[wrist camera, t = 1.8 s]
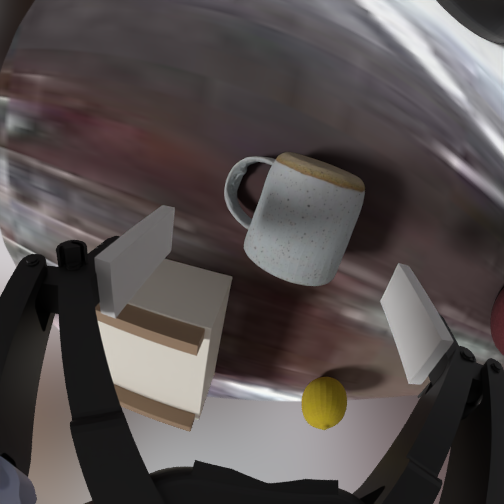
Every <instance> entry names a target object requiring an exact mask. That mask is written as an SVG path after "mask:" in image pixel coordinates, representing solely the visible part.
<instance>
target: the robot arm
mask: <svg viewBox="0 0 504 504" xmlns="http://www.w3.org/2000/svg"><path fill="white" fill-rule="evenodd" d="M437 1H438V2H439V4H440V5H441V6H442V7H443V8H444V9H445V10H446V11H448V12H449V13H450V14H451V15H452V16H453V17H454V18H455V19H457V20H458V21H459V22H460V23H461V24H463V25H464V26H465V27H467V28H468V29H470V30H471V31H473V32H474V33H476V34H477V35H479V36H481V37H483V38H485V39H487V40H489V41H492V42H496V43H500V44H504V0H437ZM174 213H175V208H174V207H169V206H164V205H162V206H161V207H159V208H158V209H157V210H155V211H154V212H153V213H151V214H150V215H148V216H147V217H146V218H144V219H143V220H142V221H140V222H139V223H138V224H136V225H135V226H134V227H132V228H131V229H130V230H128V231H127V232H126V233H125V234H123V235H122V236H121V237H119V236H114V237H111V238H108V239H107V240H105V241H104V242H103V243H101V245H99V246H97V247H96V248H95V249H94V250H92V251H91V252H90V253H88V254H87V245H86V244H85V243H84V242H82V241H79V240H69V241H65V242H63V243H61V244H59V245H58V246H57V248H56V253H57V260H58V266H59V267H55V266H47V264H46V259H45V257H44V256H42V255H40V254H31V255H28V256H26V257H24V258H23V259H22V260H21V261H20V262H19V264H18V266H17V267H16V269H15V271H14V272H13V275H12V276H11V278H10V279H9V281H8V283H7V285H6V287H5V289H4V291H3V292H2V294H1V296H0V504H35V503H36V500H37V497H36V494H35V489H34V486H33V484H32V482H31V481H30V479H29V478H28V474H29V468H30V462H31V450H32V433H33V423H34V413H35V405H36V398H37V391H38V385H39V379H40V374H41V369H42V364H43V359H44V354H45V350H46V346H47V341H48V338H49V334H50V330H51V326H52V323H53V319H54V316H55V313H56V314H59V328H60V341H61V351H62V360H63V368H64V376H65V383H66V389H67V394H68V400H69V405H70V410H71V415H72V421H71V422H70V429H71V434H72V438H73V442H74V446H75V449H76V453H77V456H78V460H79V463H80V466H81V469H82V472H83V476H84V478H85V481H86V484H87V487H88V490H89V492H90V495H91V497H92V501H90V502H87V503H85V504H433V503H434V501H435V499H436V497H437V495H438V493H439V491H440V489H441V486H442V480H440V479H439V478H437V477H438V474H439V472H440V470H441V468H442V466H443V463H444V461H445V459H446V457H447V454H448V452H449V449H450V447H451V450H450V456H449V462H448V467H447V473H446V477H445V481H444V486H443V490H442V494H441V498H440V502H439V504H504V370H503V367H502V366H501V364H500V363H499V362H498V361H496V360H495V359H492V358H490V359H488V360H487V361H486V362H485V364H484V365H481V364H478V363H476V358H475V356H474V355H473V353H472V352H471V351H470V350H469V349H467V348H465V347H462V346H459V345H458V343H457V341H456V340H455V338H454V336H453V334H452V332H450V329H449V327H448V326H447V323H446V322H445V320H444V318H443V317H442V316H441V315H440V314H439V313H438V312H437V310H436V308H435V307H434V305H433V303H432V302H431V300H430V298H429V297H428V295H427V294H426V292H425V290H424V289H423V287H422V286H421V284H420V282H419V281H418V279H417V278H416V276H415V275H414V273H413V272H412V270H411V269H410V267H409V266H407V265H403V264H400V263H398V265H397V267H396V269H395V272H394V274H393V276H392V278H391V280H390V282H389V284H388V287H387V289H386V291H385V293H384V295H383V297H382V299H381V301H380V302H381V304H382V307H383V310H384V312H385V315H386V318H387V320H388V323H389V326H390V328H391V331H392V334H393V337H394V340H395V343H396V345H397V348H398V351H399V354H400V357H401V360H402V364H403V367H404V370H405V373H406V376H407V380H408V383H409V384H422V383H423V381H424V380H425V379H426V378H427V377H428V375H429V378H430V381H431V382H430V383H429V384H428V385H427V386H426V388H425V389H424V390H423V391H422V392H421V393H420V394H419V395H418V398H419V397H421V398H420V399H419V401H418V403H417V405H416V407H415V408H414V410H413V412H412V414H411V415H410V417H409V419H408V420H407V422H406V424H405V425H404V427H403V428H402V430H401V432H400V433H399V435H398V436H397V438H396V439H395V441H394V442H393V444H392V445H391V447H390V448H389V450H388V451H387V453H386V454H385V456H384V457H383V458H382V460H381V461H380V462H379V464H378V465H377V466H376V468H375V469H374V470H373V472H372V473H371V474H370V476H369V477H368V478H367V479H366V481H365V482H364V483H363V485H361V487H360V488H359V489H358V490H356V491H355V492H354V493H353V494H351V493H349V492H347V491H345V490H342V489H339V488H338V480H312V479H303V480H296V481H289V482H280V483H265V482H263V481H260V480H257V479H255V478H252V477H250V476H247V475H245V474H242V473H240V472H238V471H235V470H233V469H230V468H225V467H221V466H217V465H212V464H208V463H204V462H200V461H197V460H195V462H194V466H193V467H173V468H166V469H162V470H158V471H155V472H153V473H150V474H149V473H148V471H147V469H146V466H145V464H144V462H143V460H142V458H141V456H140V453H139V451H138V448H137V446H136V444H135V441H134V439H133V437H132V434H131V432H130V429H129V426H128V423H127V421H126V418H125V416H124V413H123V411H122V408H121V405H120V402H119V399H118V396H117V393H116V390H115V387H114V383H113V380H112V377H111V373H110V370H109V366H108V362H107V359H106V355H105V351H104V347H103V343H102V338H101V334H100V330H99V325H98V320H97V315H96V310H95V307H96V306H97V305H98V304H100V310H101V313H102V314H104V315H107V316H110V317H112V318H115V319H116V317H117V316H118V315H119V314H120V312H121V311H122V310H123V309H124V307H125V306H126V305H127V304H128V302H129V301H130V300H131V299H132V297H133V296H134V295H135V294H136V292H137V291H138V290H139V289H140V287H141V286H142V285H143V284H144V283H145V281H146V280H147V279H148V278H149V277H150V275H151V274H152V273H153V272H154V271H155V269H156V268H157V267H158V266H159V265H160V264H161V262H162V261H163V260H164V259H165V258H166V256H167V255H168V254H169V253H170V252H171V247H172V234H173V223H174ZM479 403H480V404H479Z"/></svg>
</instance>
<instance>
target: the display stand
mask: <svg viewBox="0 0 504 504" xmlns="http://www.w3.org/2000/svg"><path fill="white" fill-rule="evenodd" d="M231 282H232V276H228V275H224V274H221V273H217V272H213V271H209V270H205V269H202V268H198V267H194V266H190V265H187V264H183V263H179V262H176V261H172V260H168V259H164V260H163V261H162V262H161V264H160V265H159V266H158V267H157V268H156V269H155V271H154V272H153V273H152V274H151V275H150V277H149V278H148V279H147V280H146V281H145V283H144V284H143V285H142V286H141V287H140V289H139V290H138V291H137V292H136V294H135V295H134V296H133V297H132V299H131V300H130V301H129V302H128V304H127V305H126V306H125V307H124V309H123V310H122V311H121V312H120V314H119V315H118V316H117V317H116V319H115V318H112V317H110V316H107V315H104V314H102V313H101V310H100V304H98V305H97V306H96V307H95V310H96V315H97V320H98V325H99V330H100V334H101V338H102V343H103V347H104V351H105V355H106V359H107V362H108V366H109V370H110V373H111V377H112V380H113V383H114V387H115V390H116V393H117V396H118V399H119V402H120V405H121V406H122V407H124V408H127V409H129V410H131V411H134V412H137V413H139V414H141V415H144V416H147V417H149V418H152V419H154V420H157V421H160V422H163V423H165V424H168V425H171V426H174V427H177V428H180V429H183V430H186V431H191V428H192V425H193V422H194V419H196V420H199V418H200V415H201V412H202V409H203V406H204V403H205V400H206V397H207V394H208V391H209V388H210V385H211V382H212V379H213V376H214V373H215V367H216V362H217V356H218V351H219V345H220V340H221V335H222V329H223V324H224V318H225V313H226V308H227V303H228V297H229V292H230V287H231Z"/></svg>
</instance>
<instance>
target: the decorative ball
mask: <svg viewBox="0 0 504 504" xmlns="http://www.w3.org/2000/svg"><path fill="white" fill-rule="evenodd" d="M491 334H492V338H493V341H494V343H495V346H496V347H497V348H498V350H499V351H500V352H501V354H503V355H504V288H503V289H502V290H501V292H500V293H499V295H498V297H497V299H496V301H495V303H494V305H493V309H492V313H491Z"/></svg>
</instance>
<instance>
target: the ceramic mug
mask: <svg viewBox="0 0 504 504" xmlns="http://www.w3.org/2000/svg"><path fill="white" fill-rule="evenodd" d="M256 162H264V163H267V164H270V165H272V167H271V169H270V171H269V173H268V175H267V178H266V181H265V184H264V188H263V191H262V194H261V197H260V200H259V202H258V205H257V208H256V210H255V213H254V216H253V219H251V218H250V217H248V216H247V215H246V214H245V212H244V211H243V210H242V209H241V207H240V205H239V202H238V200H237V190H238V187H239V185H240V182H241V179H242V177H243V175H244V174H245V173H246V171H247V167H248V166H249V165H250V164H253V163H256ZM224 195H225V201H226V204H227V206H228V208H229V210H230V212H231V213H232V215H233V216H234V217H235V219H236V220H237V221H238V222H239V223H241V224H242V225H243V226H244V227H245V228H246V229H248V233H247V235H246V238H245V242H244V249H245V252H246V253H247V255H248V257H249V258H250V259H251V260H252V261H253V262H254V263H255V264H256V265H258V266H259V267H261V268H262V269H264V270H265V271H267V272H268V273H270V274H272V275H274V276H276V277H278V278H281V279H283V280H286V281H289V282H292V283H296V284H301V285H306V286H320V285H324V284H327V283H329V282H330V281H331V280H332V279H333V278H334V277H335V275H336V272H337V270H338V267H339V265H340V262H341V260H342V257H343V255H344V253H345V250H346V248H347V245H348V243H349V240H350V237H351V235H352V231H353V229H354V226H355V224H356V222H357V219H358V216H359V214H360V211H361V208H362V205H363V200H364V195H365V186H364V183H363V181H362V180H361V179H360V178H359V177H357V176H355V175H353V174H351V173H349V172H347V171H345V170H342V169H340V168H338V167H335V166H333V165H330V164H328V163H325V162H322V161H319V160H316V159H313V158H310V157H307V156H304V155H300V154H296V153H291V152H285V153H282V154H280V155H279V156H278V157H277V158H276V159H274V158H269V157H260V156H253V157H247V158H245V159H243V160H241V161H239V162H238V163H237V164H235V165H234V167H233V168H232V170H231V171H230V173H229V175H228V177H227V180H226V184H225V190H224Z"/></svg>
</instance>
